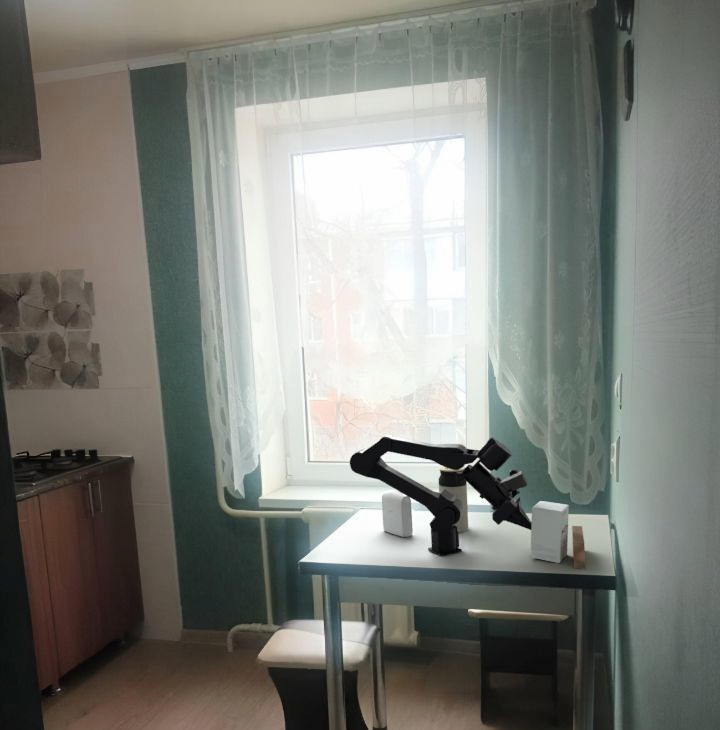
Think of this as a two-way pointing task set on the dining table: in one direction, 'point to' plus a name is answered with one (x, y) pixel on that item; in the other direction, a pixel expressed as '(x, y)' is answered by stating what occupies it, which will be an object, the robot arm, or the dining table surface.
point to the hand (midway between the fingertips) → (532, 528)
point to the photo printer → (397, 513)
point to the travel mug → (455, 492)
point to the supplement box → (549, 531)
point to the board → (578, 547)
